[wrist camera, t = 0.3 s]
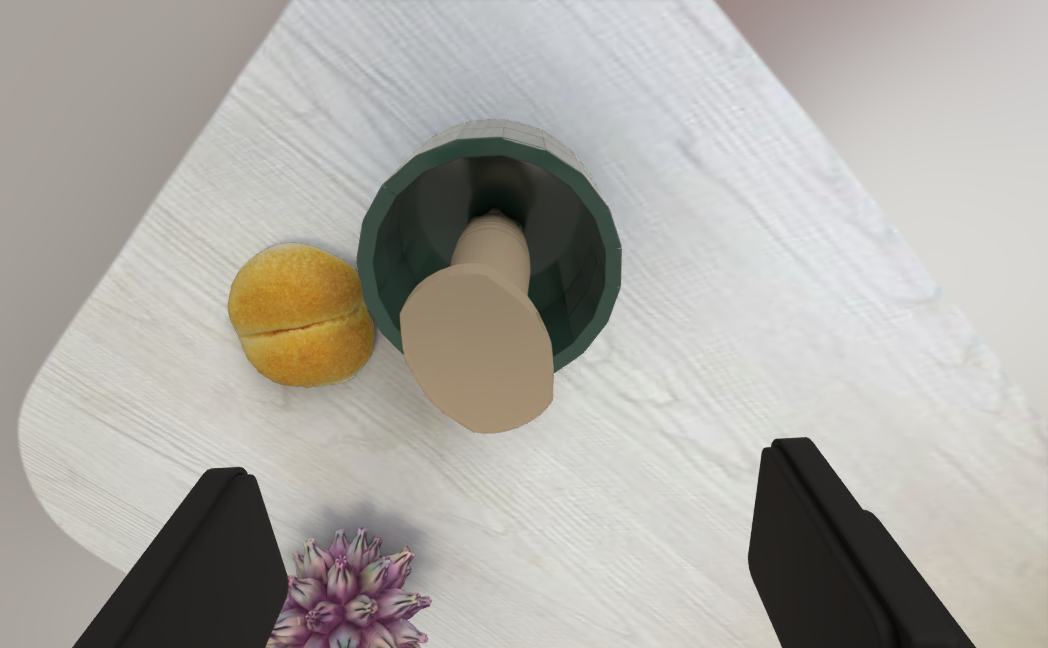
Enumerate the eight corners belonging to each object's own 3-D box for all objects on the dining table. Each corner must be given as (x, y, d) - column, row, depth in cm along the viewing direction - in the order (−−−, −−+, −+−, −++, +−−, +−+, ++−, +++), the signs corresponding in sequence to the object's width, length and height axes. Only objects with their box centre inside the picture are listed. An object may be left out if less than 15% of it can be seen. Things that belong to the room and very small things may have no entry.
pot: (371, 125, 32) (334, 145, 26) (603, 113, 32) (624, 130, 25) (403, 333, 37) (379, 392, 31) (602, 324, 37) (619, 381, 31)
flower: (338, 596, 50) (241, 523, 43) (464, 558, 47) (383, 473, 40) (304, 760, 40) (174, 700, 34) (459, 723, 38) (352, 650, 31)
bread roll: (352, 229, 34) (333, 251, 31) (388, 362, 38) (375, 395, 35) (216, 248, 35) (181, 272, 31) (265, 378, 39) (239, 412, 35)
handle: (508, 165, 32) (499, 251, 19) (555, 264, 35) (578, 403, 21) (431, 202, 33) (371, 310, 20) (483, 296, 36) (461, 450, 22)
